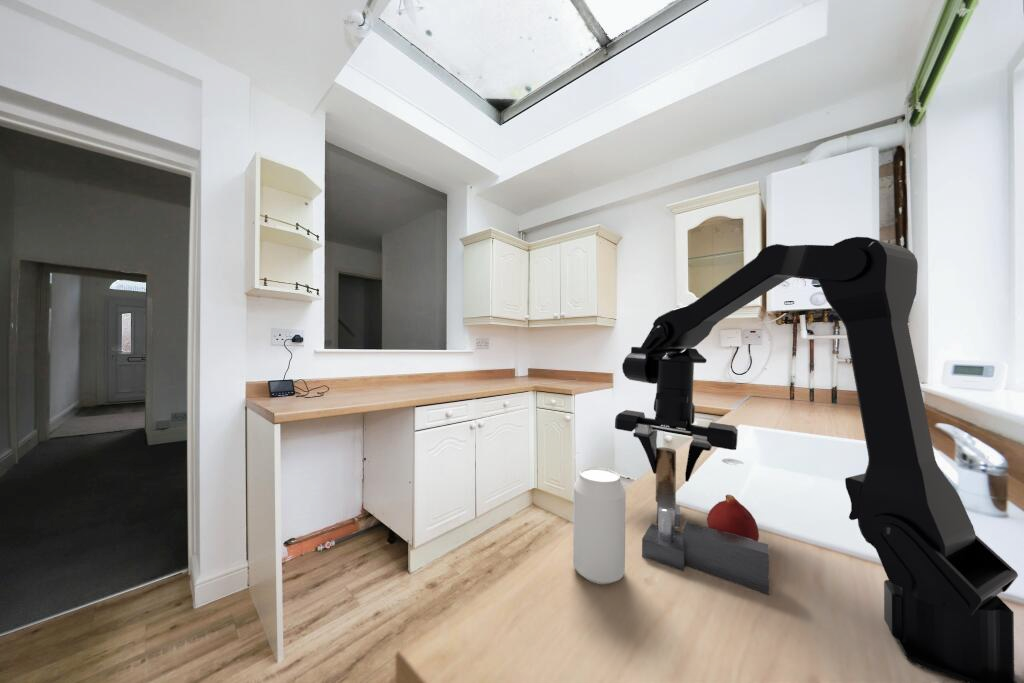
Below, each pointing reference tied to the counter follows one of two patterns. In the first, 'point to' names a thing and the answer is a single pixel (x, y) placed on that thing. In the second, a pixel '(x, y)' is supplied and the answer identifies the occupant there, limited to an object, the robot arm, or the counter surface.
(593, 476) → the beverage can
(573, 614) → the counter surface
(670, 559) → the base
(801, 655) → the counter surface
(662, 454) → the lever
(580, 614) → the counter surface
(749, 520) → the onion
